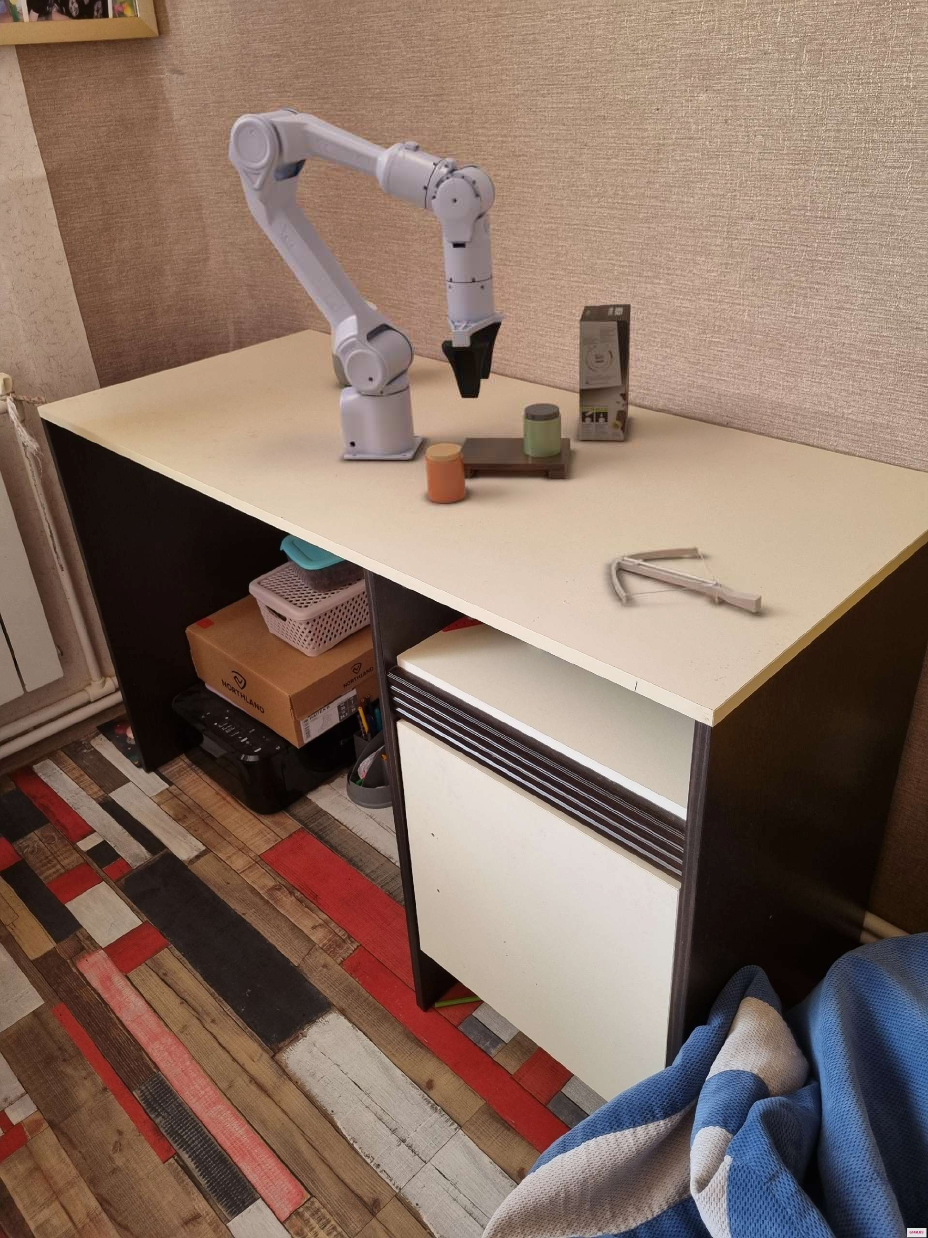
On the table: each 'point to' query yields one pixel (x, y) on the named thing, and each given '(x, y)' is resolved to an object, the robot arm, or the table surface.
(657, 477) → the table surface
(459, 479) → the spice jar
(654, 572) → the crossbow
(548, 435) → the sage pot
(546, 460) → the stand
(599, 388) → the coffee box
